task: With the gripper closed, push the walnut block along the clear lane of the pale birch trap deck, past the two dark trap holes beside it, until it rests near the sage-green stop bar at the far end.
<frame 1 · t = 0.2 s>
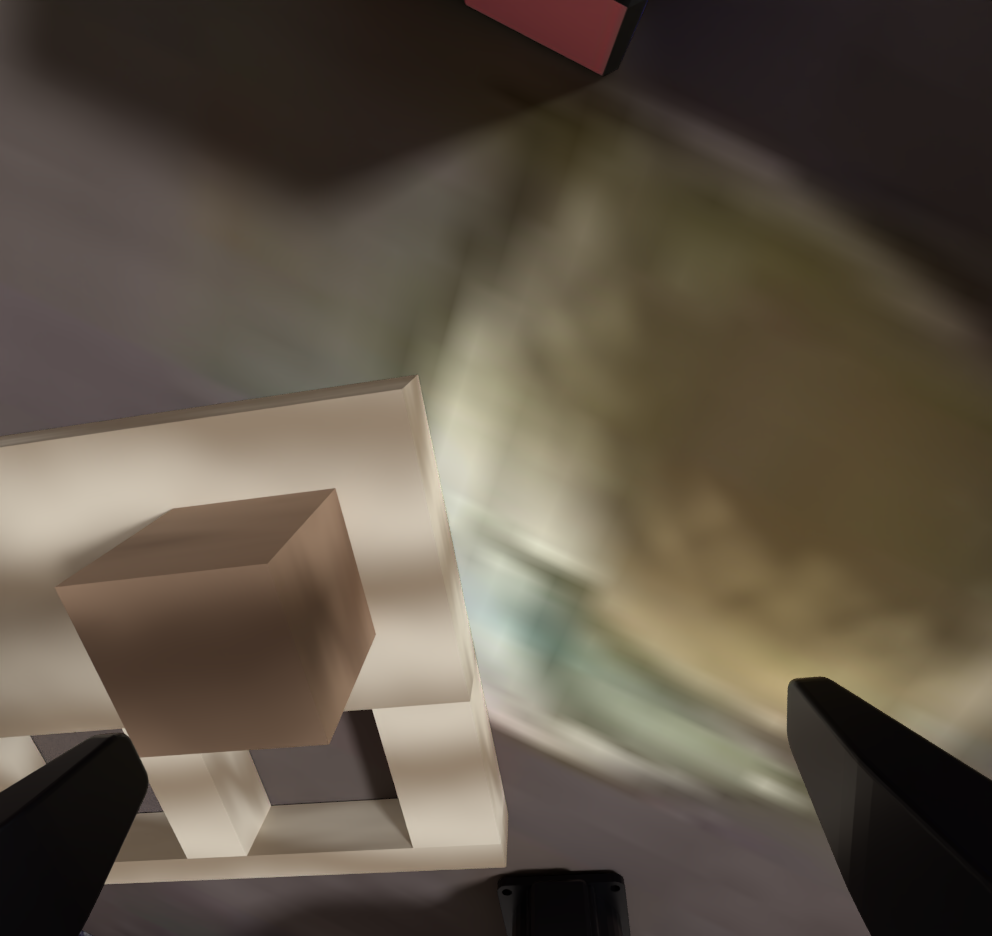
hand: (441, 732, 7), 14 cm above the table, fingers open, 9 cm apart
trap deck: (168, 657, 24), on the table
walnut block: (277, 573, 20), point 2 cm above the table, touching trap deck
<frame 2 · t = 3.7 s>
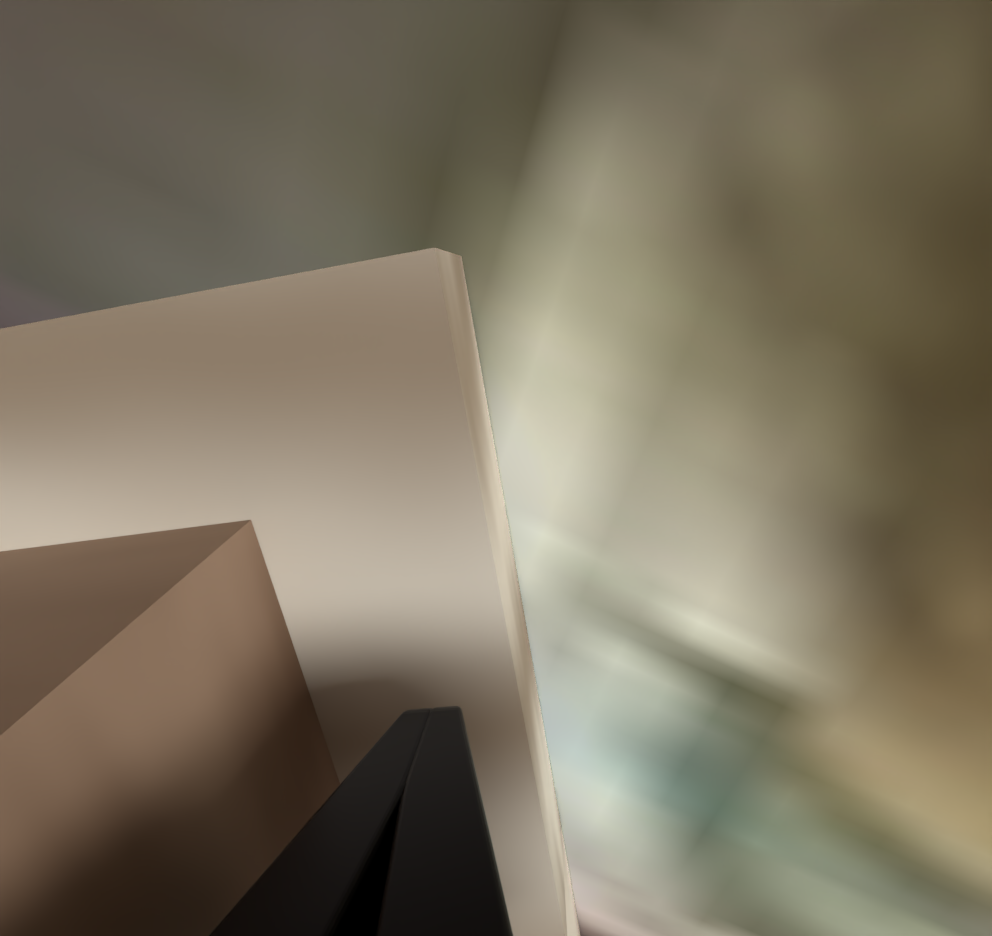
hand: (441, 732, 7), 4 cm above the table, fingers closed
trap deck: (0, 816, 14), on the table
walnut block: (135, 707, 9), point 3 cm above the table, touching gripper
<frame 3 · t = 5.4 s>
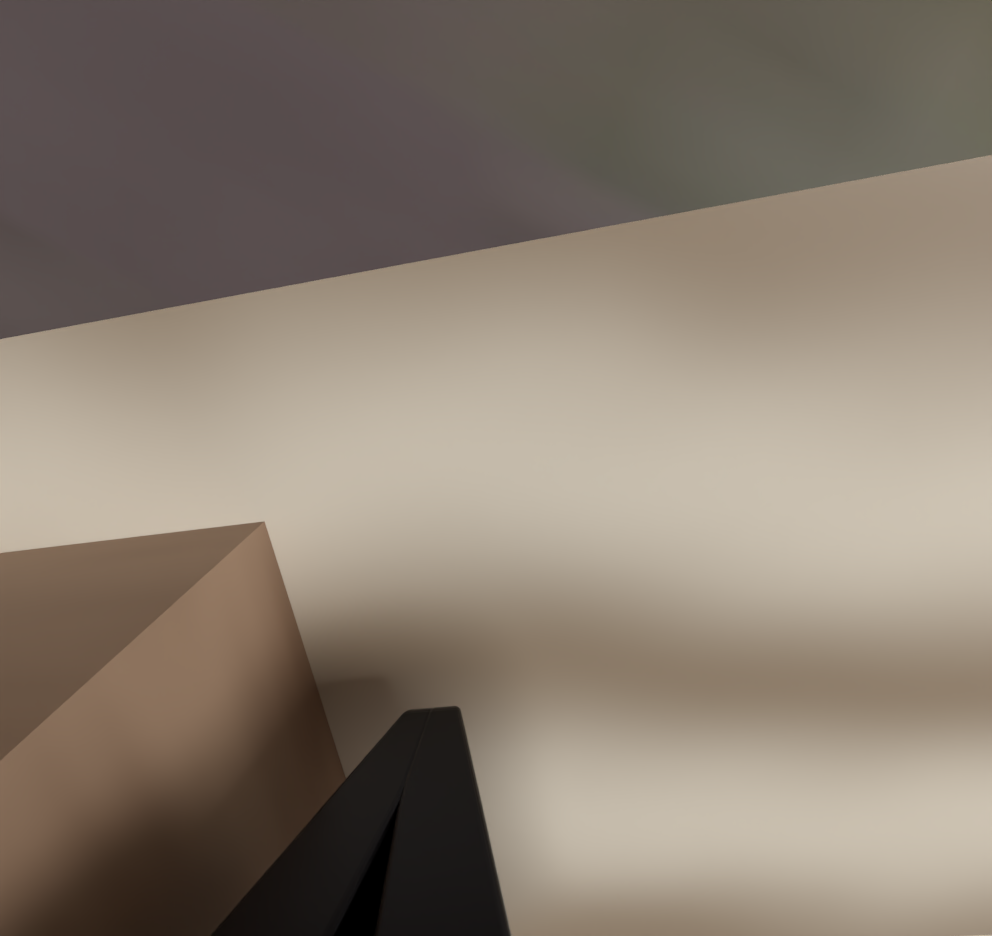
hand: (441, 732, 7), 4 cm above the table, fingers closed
trap deck: (373, 790, 13), on the table
walnut block: (145, 706, 9), point 3 cm above the table, touching gripper
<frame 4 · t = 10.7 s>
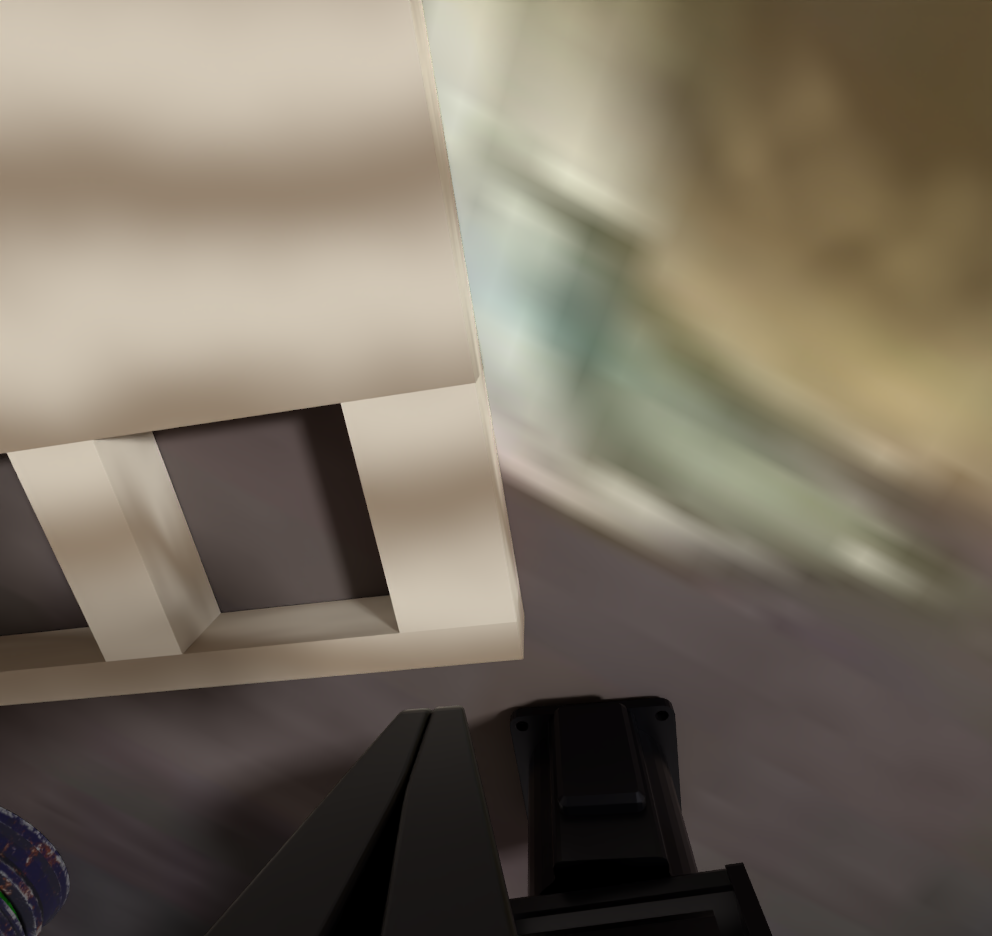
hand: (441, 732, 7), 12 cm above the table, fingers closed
trap deck: (79, 386, 19), on the table
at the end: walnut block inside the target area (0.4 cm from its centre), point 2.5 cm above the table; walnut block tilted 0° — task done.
